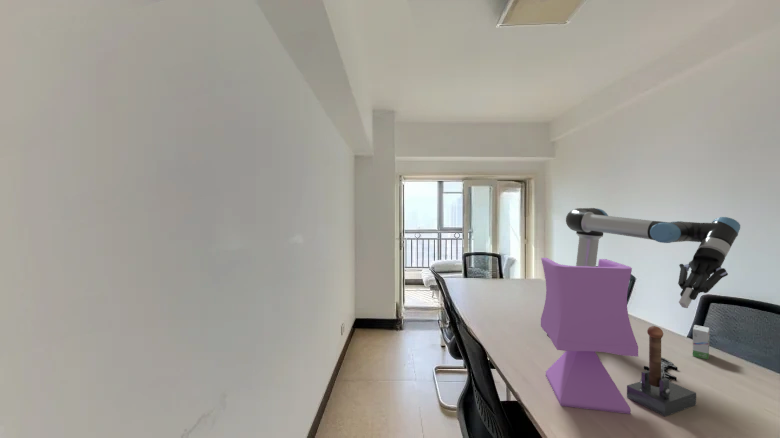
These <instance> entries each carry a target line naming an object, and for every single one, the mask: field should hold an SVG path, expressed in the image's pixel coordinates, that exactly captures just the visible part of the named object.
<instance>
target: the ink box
mask: <svg viewBox="0 0 780 438" xmlns="http://www.w3.org/2000/svg"><path fill="white" fill-rule="evenodd" d="M692 356H693V357H694V358H699V359H703V360H707V359H708V360H709V357H710V327H707V326H702V325H698V324H694V325H693V327H692Z"/></svg>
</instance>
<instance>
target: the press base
mask: <svg viewBox="0 0 780 438" xmlns="http://www.w3.org/2000/svg"><path fill="white" fill-rule="evenodd" d="M626 398H628V399H629V400H631V401H633V402H635V403H637V404H640V405H641V406H643V407H645V408H648V409H650V410H651V411H653V412H655V413H657V414H660V415H661V416H663V417H668V416H670V415H672V414H676V413H678V412H681V411H683V410H686V409H689V408H691V407H694V406H697V392H695V391H693V390H691V389H689V388H685V387H683V386H681V385H680V384H679V385H678V384H676V383H674V382H672V381H669V379H667V378H663V379H662V378H661V379H660V387H655V386H652V385H650V384H649V371H648V370H644V371H641V379H640V380H639V381H637V382H634V383H631V384H627V385H626Z"/></svg>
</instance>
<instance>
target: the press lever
mask: <svg viewBox="0 0 780 438" xmlns="http://www.w3.org/2000/svg"><path fill="white" fill-rule="evenodd" d="M646 332H647V334H648V337H649V338H648V340H649V342H648V343H649V344H648V367H649V384H650V385H652V386H655V387H660V379H661V357H662V338H663V337H664V332H663V330H662V328H660V327H658V326H656V325H652V326H649V327H648V328H647V331H646Z"/></svg>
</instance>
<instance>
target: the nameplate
mask: <svg viewBox="0 0 780 438" xmlns="http://www.w3.org/2000/svg"><path fill="white" fill-rule="evenodd" d="M678 368H679V367H678V366H676V365H675V363H673V362H672V361H671V360H668V359H666V358H664V357H662V356H661V378H662V379H663V378H667V379H669V382H671V380H672V381H676V382H677V381H678V380H677V379H678V378H677V376H675V375H672V374H670V373H668V371H669V369H670V370H673V371H678ZM643 370H644V371H647V370H648V371H649V366H646V365H643Z"/></svg>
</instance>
